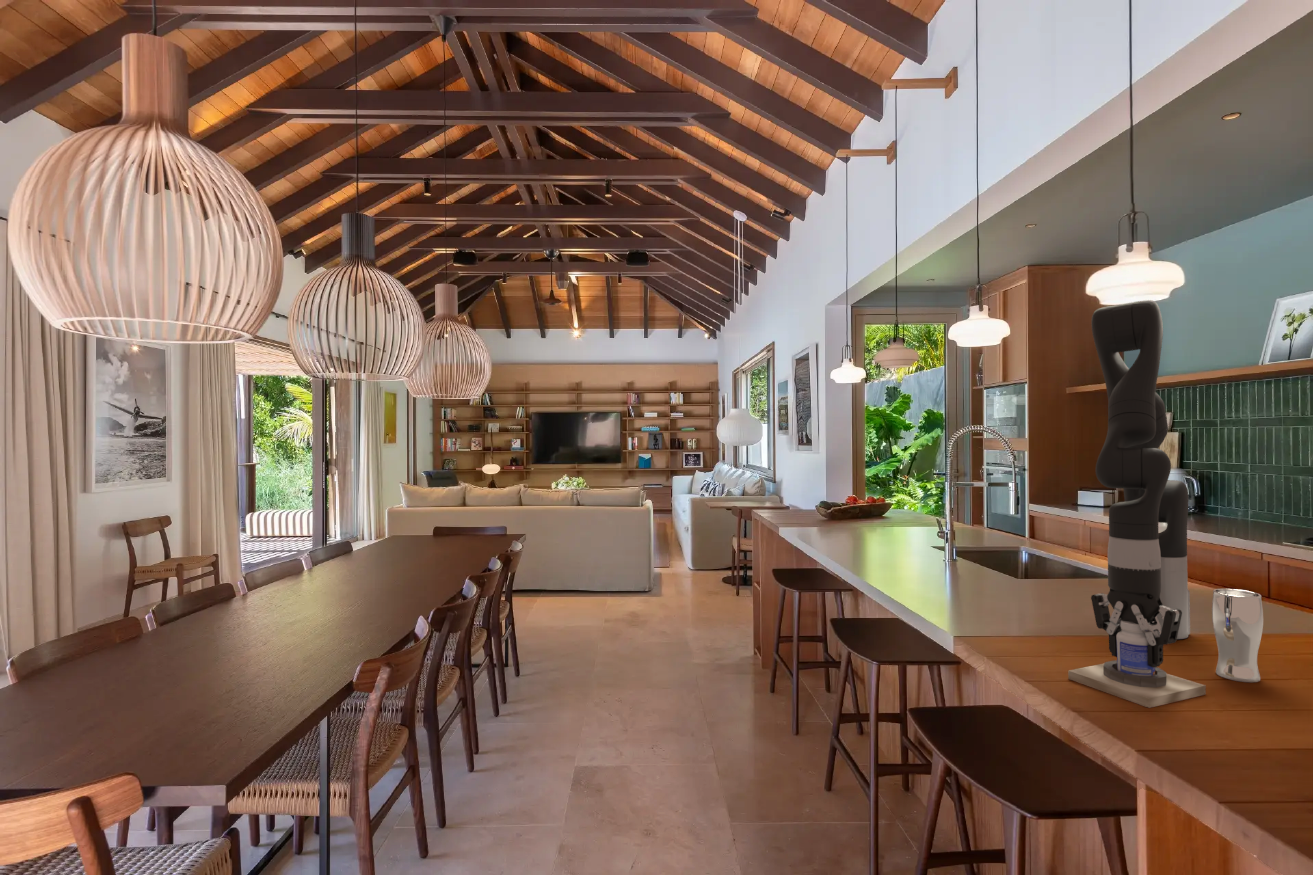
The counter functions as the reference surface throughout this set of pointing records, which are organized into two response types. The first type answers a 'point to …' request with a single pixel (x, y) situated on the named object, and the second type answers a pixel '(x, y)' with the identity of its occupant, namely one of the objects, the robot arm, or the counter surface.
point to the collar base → (1138, 692)
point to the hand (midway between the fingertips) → (1135, 660)
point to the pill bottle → (1133, 650)
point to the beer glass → (1237, 633)
